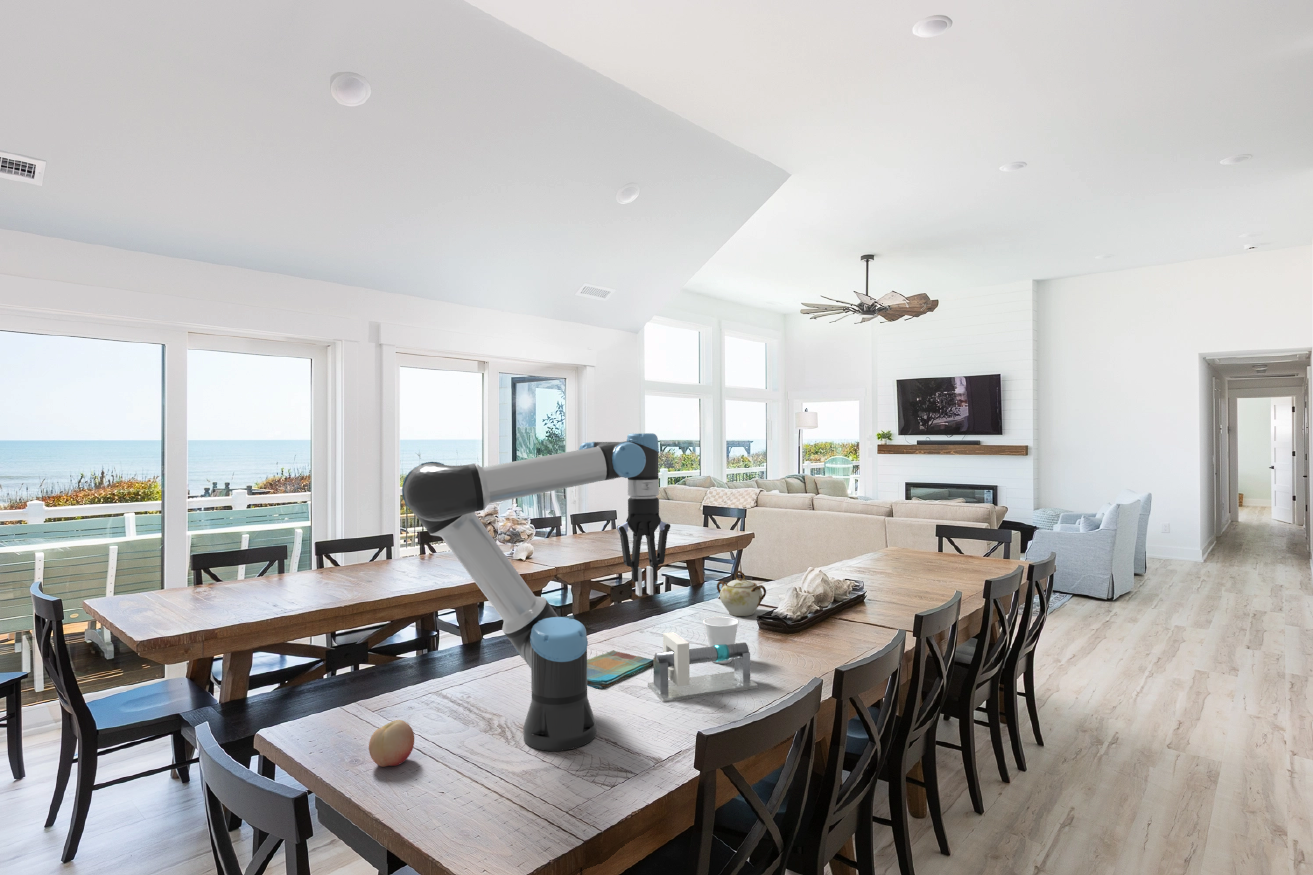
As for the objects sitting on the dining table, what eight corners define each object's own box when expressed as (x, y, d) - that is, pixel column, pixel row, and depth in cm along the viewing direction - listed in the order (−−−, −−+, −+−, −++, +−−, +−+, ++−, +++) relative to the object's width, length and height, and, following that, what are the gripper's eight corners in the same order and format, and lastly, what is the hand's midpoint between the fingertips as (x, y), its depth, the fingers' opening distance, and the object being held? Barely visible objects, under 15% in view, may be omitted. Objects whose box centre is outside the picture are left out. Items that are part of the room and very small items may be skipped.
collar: (677, 686, 167) (677, 644, 167) (663, 672, 176) (663, 633, 176) (689, 684, 168) (689, 642, 168) (674, 671, 177) (674, 632, 177)
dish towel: (552, 678, 184) (551, 668, 184) (610, 655, 202) (610, 646, 202) (601, 692, 173) (601, 681, 173) (658, 666, 192) (657, 657, 192)
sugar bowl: (705, 613, 246) (705, 571, 245) (728, 605, 257) (727, 564, 257) (755, 622, 234) (755, 577, 234) (776, 613, 246) (775, 570, 245)
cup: (737, 667, 189) (737, 626, 189) (701, 665, 191) (700, 625, 191) (740, 655, 199) (740, 617, 199) (705, 654, 201) (705, 615, 200)
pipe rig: (662, 701, 165) (662, 659, 165) (647, 686, 175) (647, 646, 175) (757, 688, 173) (757, 647, 173) (738, 673, 184) (737, 635, 184)
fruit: (382, 753, 140) (382, 713, 139) (421, 755, 139) (420, 714, 139) (361, 773, 132) (361, 730, 132) (402, 774, 131) (401, 732, 131)
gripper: (617, 499, 163) (618, 600, 163) (678, 497, 168) (679, 594, 168) (608, 496, 170) (609, 593, 170) (667, 494, 175) (668, 588, 175)
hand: (644, 594), depth 169 cm, fingers open, 2 cm apart
